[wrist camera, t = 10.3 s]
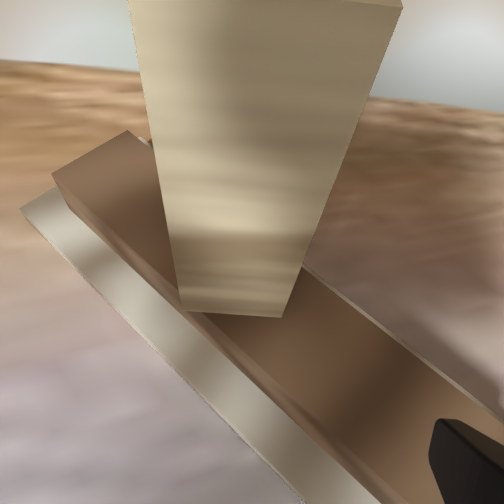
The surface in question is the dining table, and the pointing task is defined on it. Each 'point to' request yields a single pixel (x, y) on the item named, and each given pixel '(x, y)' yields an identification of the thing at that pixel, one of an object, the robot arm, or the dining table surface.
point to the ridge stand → (262, 346)
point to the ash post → (252, 132)
